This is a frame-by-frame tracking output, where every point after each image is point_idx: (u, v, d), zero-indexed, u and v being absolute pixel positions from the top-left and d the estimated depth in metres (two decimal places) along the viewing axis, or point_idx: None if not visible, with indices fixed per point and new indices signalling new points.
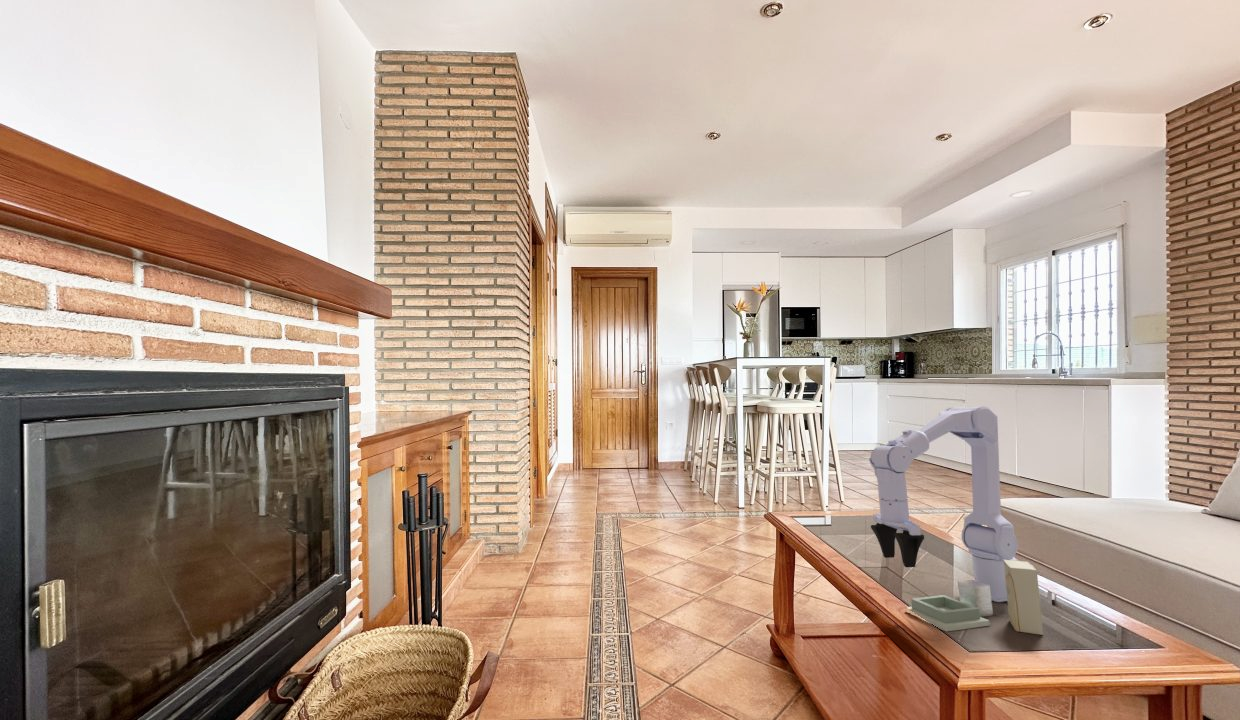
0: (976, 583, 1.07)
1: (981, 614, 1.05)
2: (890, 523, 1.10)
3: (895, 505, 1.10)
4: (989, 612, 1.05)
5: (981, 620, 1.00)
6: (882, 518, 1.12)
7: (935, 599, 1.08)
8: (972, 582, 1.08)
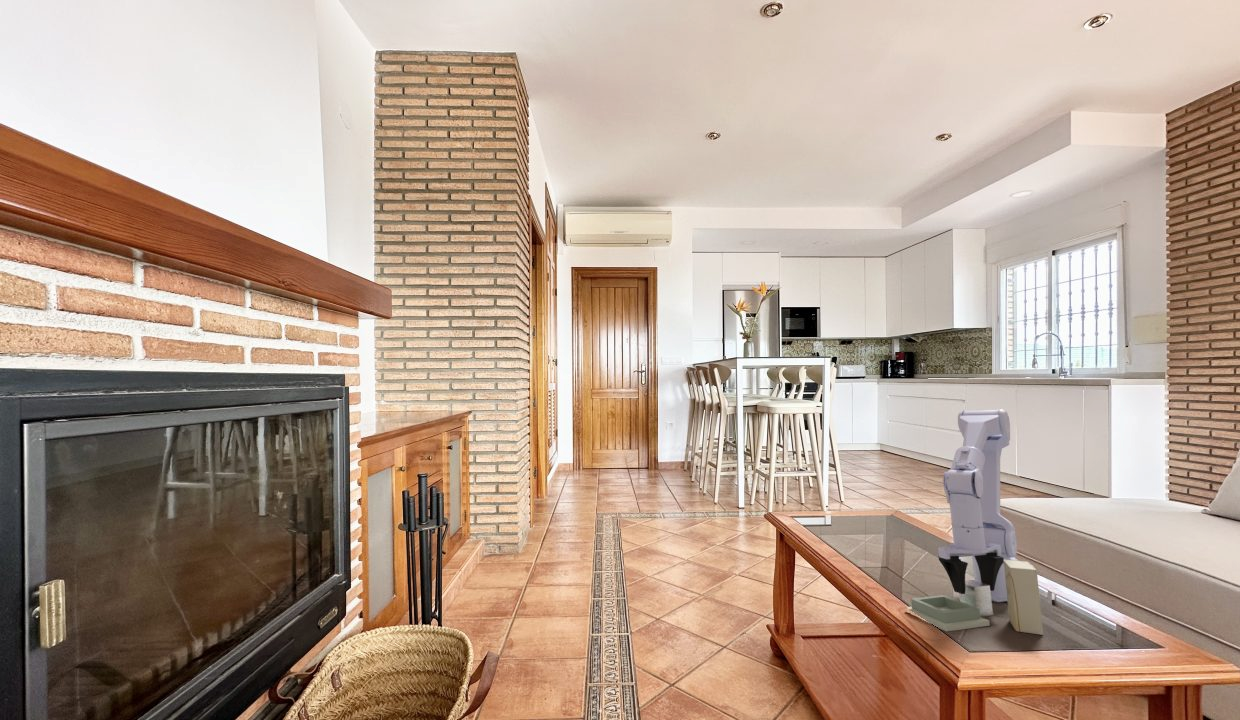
0: (976, 583, 1.07)
1: (981, 614, 1.05)
2: None
3: (953, 529, 1.09)
4: (989, 612, 1.05)
5: (981, 620, 1.00)
6: None
7: (935, 599, 1.08)
8: (972, 582, 1.08)
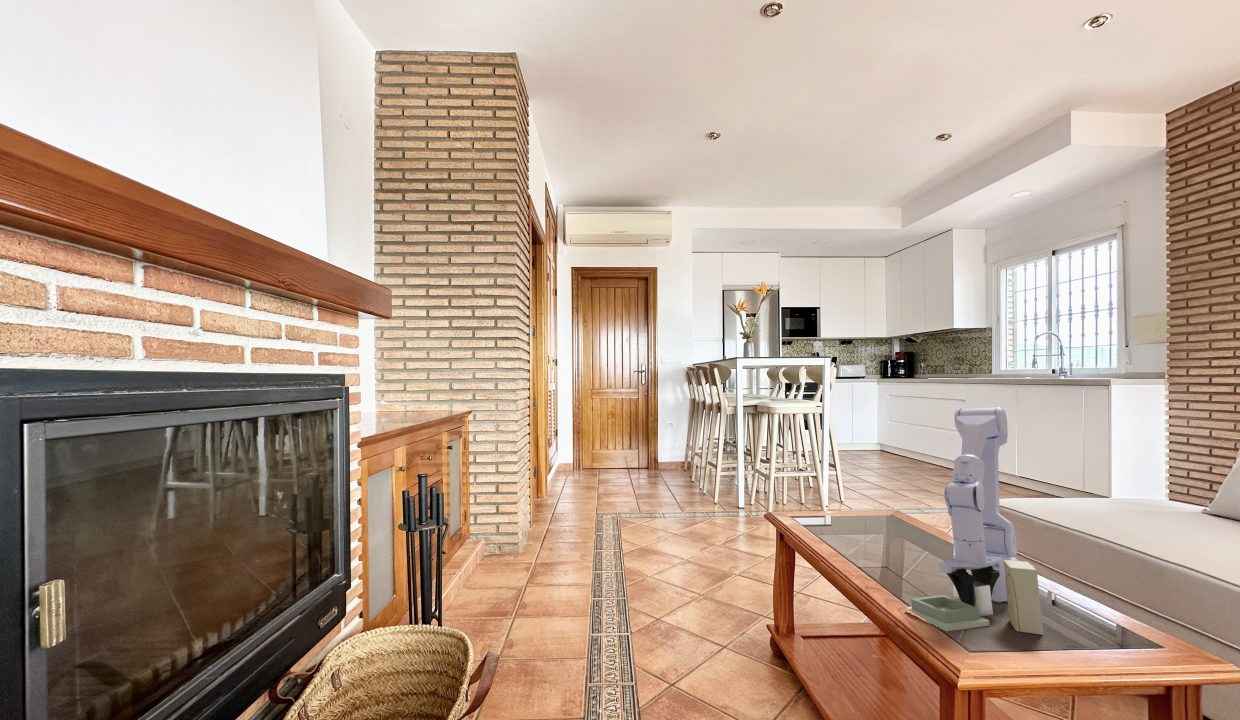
0: (976, 583, 1.07)
1: (981, 614, 1.05)
2: None
3: (954, 542, 1.09)
4: (989, 612, 1.05)
5: (981, 620, 1.00)
6: None
7: (935, 599, 1.08)
8: None
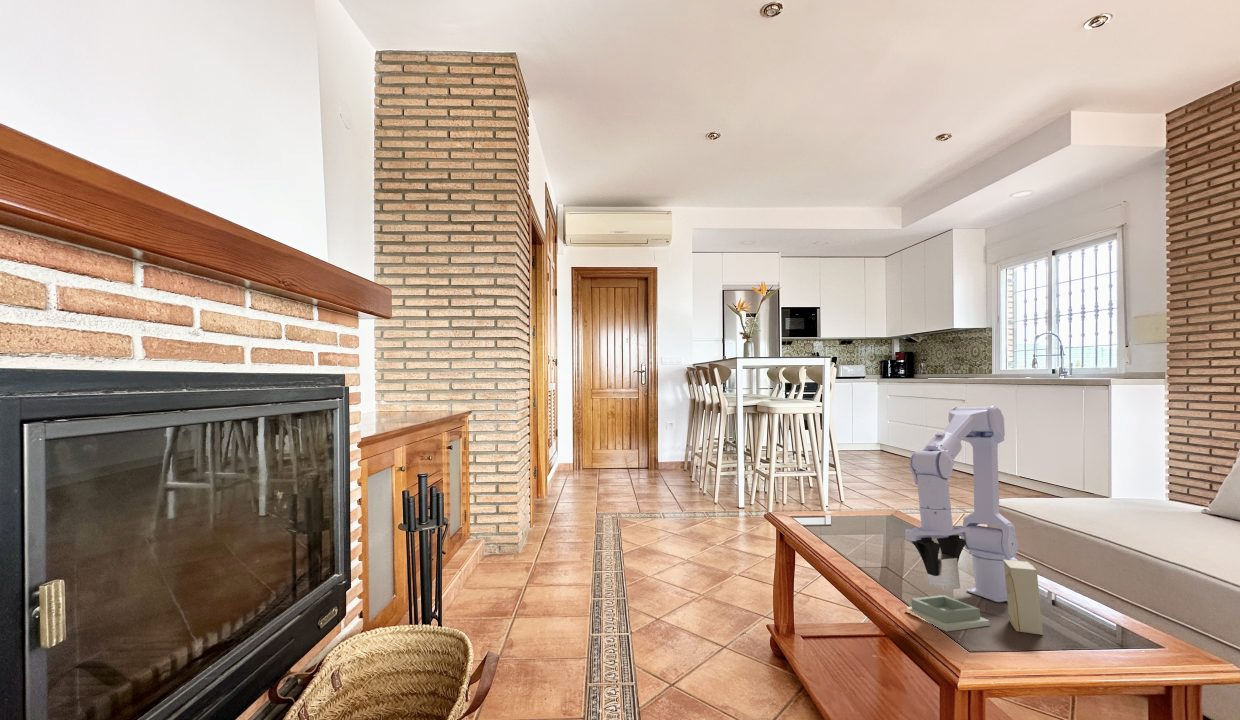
0: (944, 556, 1.05)
1: (948, 587, 1.02)
2: None
3: (920, 511, 1.07)
4: (956, 585, 1.03)
5: (981, 620, 1.00)
6: None
7: (935, 599, 1.08)
8: (940, 555, 1.06)
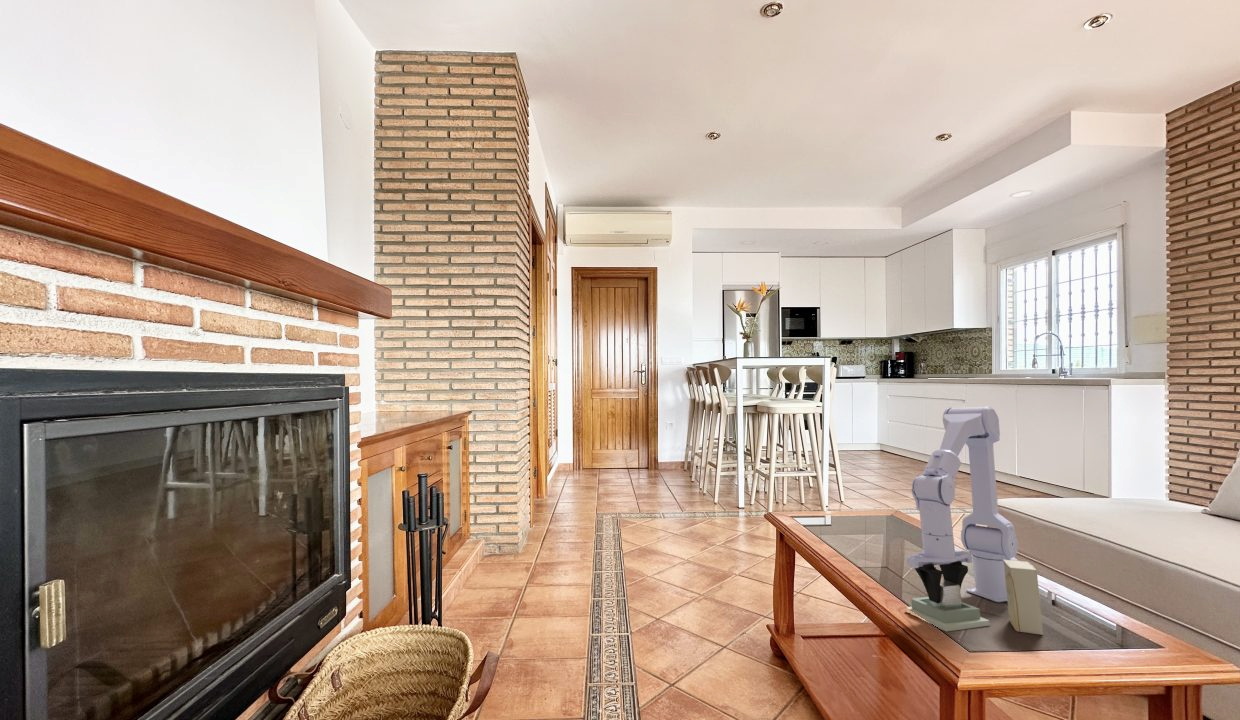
0: (946, 583, 1.04)
1: None
2: None
3: (922, 537, 1.06)
4: None
5: (981, 620, 1.00)
6: None
7: None
8: (942, 582, 1.05)
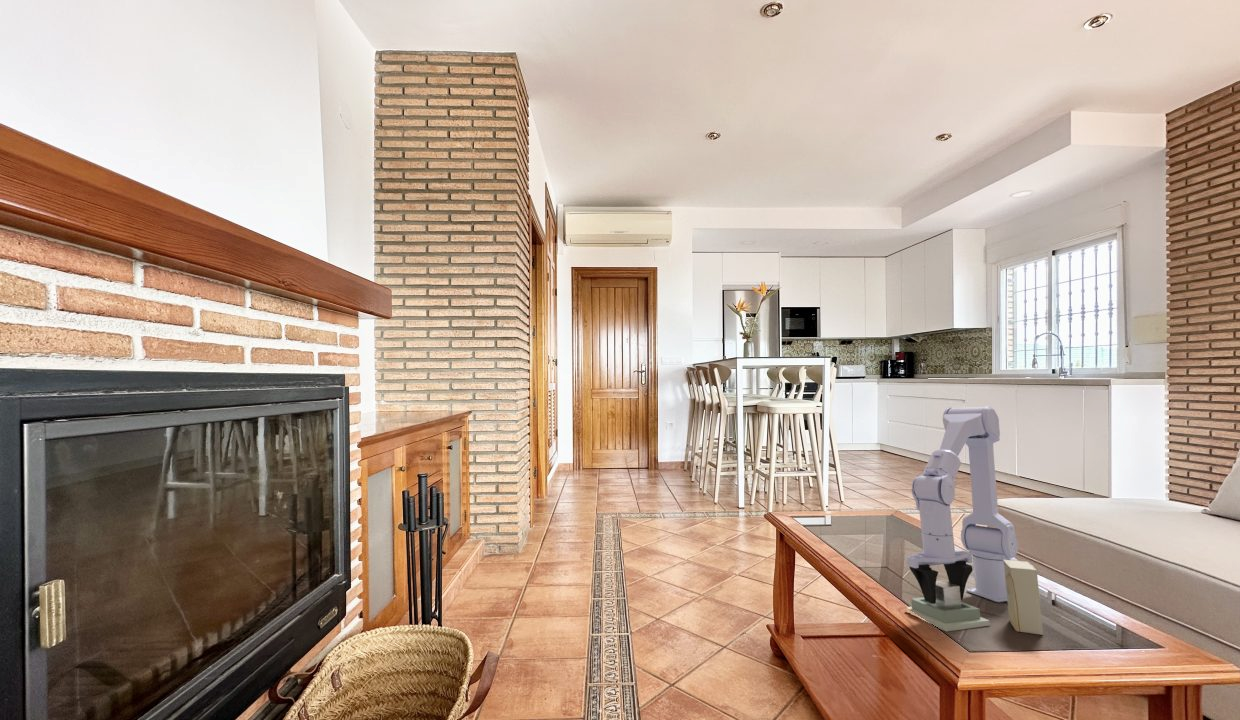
0: (946, 583, 1.04)
1: None
2: None
3: (922, 537, 1.06)
4: None
5: (981, 620, 1.00)
6: None
7: None
8: (942, 582, 1.05)
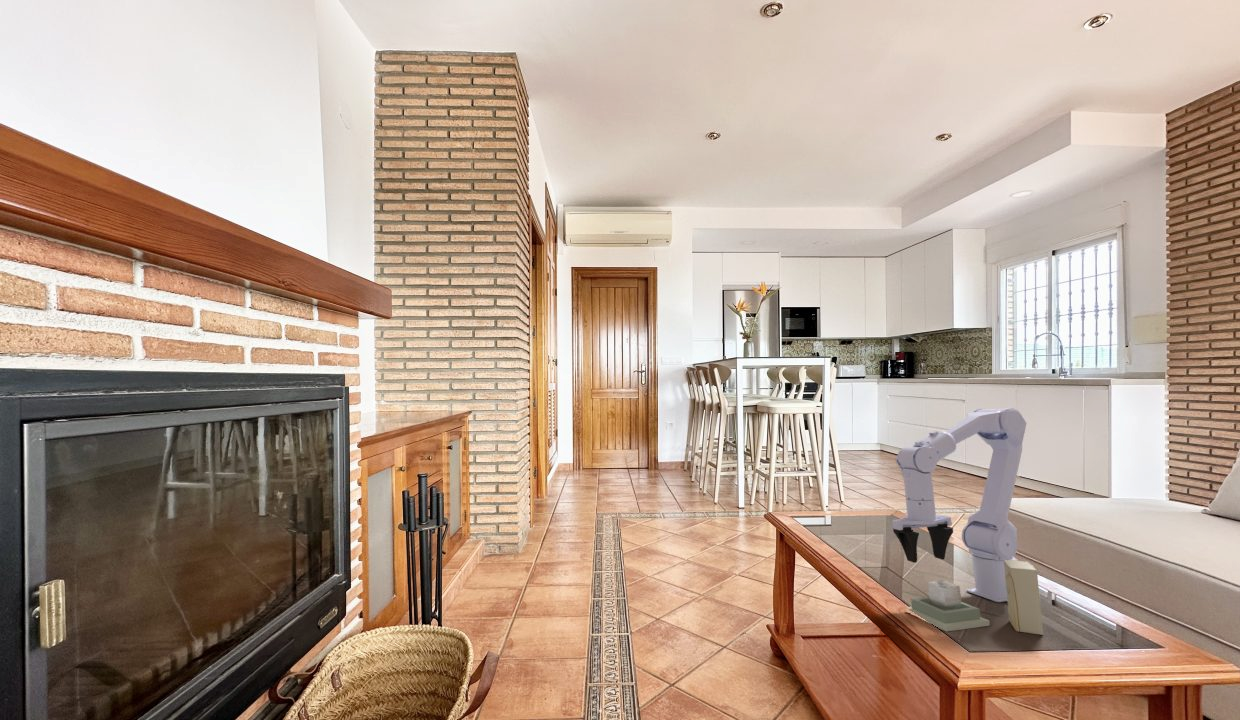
0: (946, 583, 1.04)
1: None
2: None
3: (906, 502, 1.16)
4: None
5: (981, 620, 1.00)
6: None
7: None
8: (942, 582, 1.05)
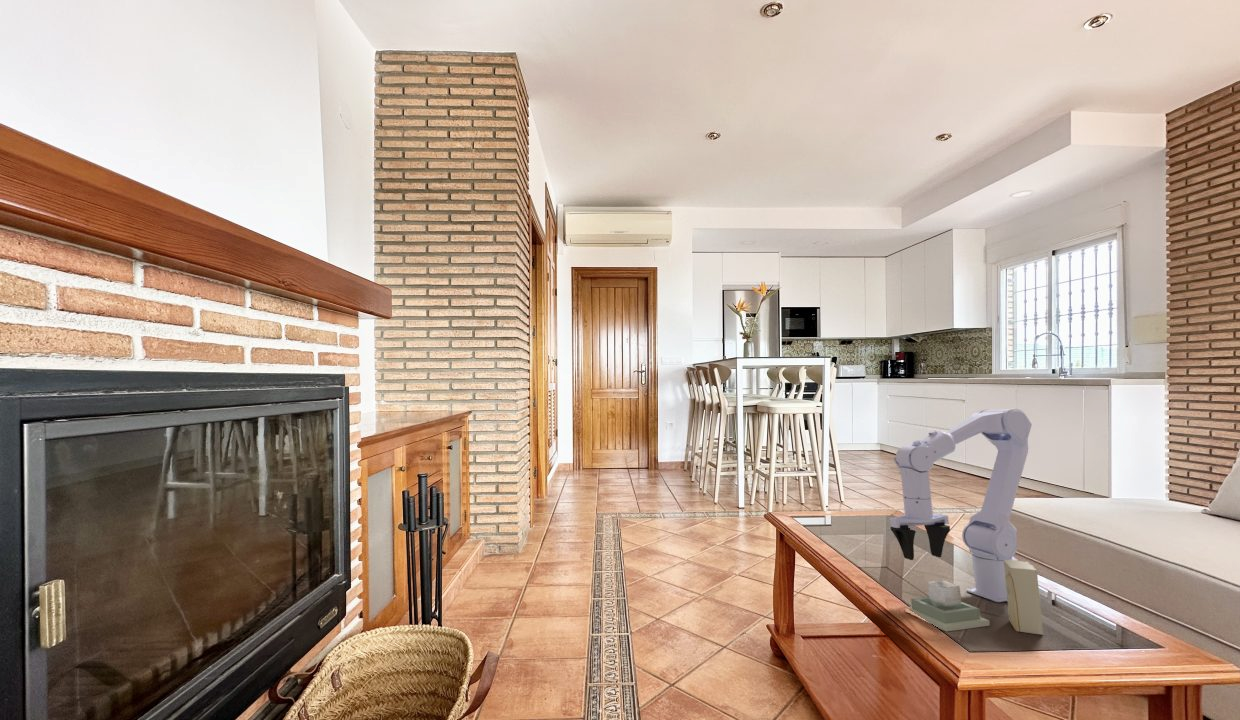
0: (946, 583, 1.04)
1: None
2: None
3: (904, 501, 1.18)
4: None
5: (981, 620, 1.00)
6: None
7: None
8: (942, 582, 1.05)
